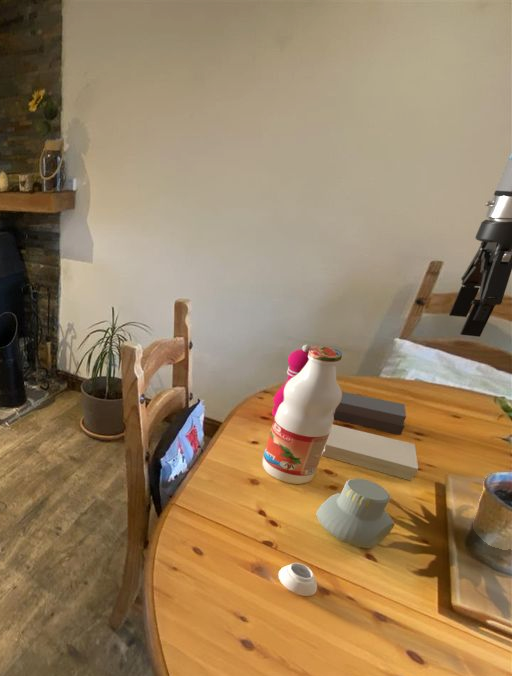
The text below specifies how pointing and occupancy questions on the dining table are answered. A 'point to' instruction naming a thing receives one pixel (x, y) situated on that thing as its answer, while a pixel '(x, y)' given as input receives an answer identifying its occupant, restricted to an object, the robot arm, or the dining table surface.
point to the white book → (373, 448)
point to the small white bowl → (298, 579)
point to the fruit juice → (304, 419)
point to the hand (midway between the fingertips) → (463, 325)
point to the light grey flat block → (369, 464)
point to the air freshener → (357, 514)
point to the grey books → (371, 413)
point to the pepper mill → (292, 372)
